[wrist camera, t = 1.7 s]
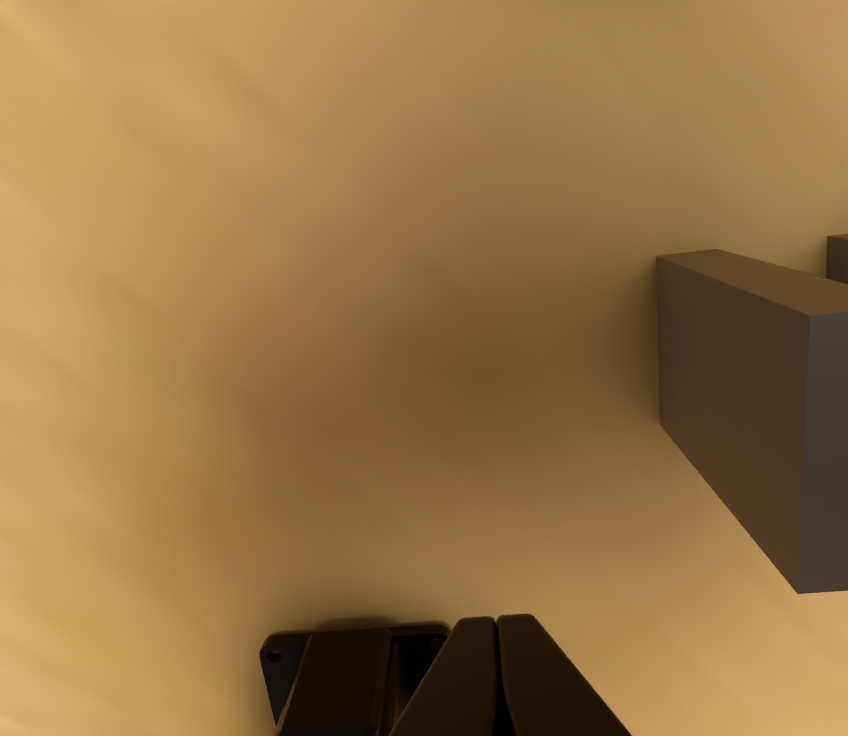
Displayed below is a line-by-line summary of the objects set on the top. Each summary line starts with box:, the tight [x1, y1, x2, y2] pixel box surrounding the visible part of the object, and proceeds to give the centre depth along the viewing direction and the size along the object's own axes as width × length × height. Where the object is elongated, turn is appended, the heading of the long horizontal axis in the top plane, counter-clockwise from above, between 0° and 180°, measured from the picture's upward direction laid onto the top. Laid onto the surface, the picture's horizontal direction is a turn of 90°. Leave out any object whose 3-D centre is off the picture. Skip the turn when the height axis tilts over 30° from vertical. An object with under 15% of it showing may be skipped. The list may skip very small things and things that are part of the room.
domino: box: [657, 249, 848, 594], centre depth 14 cm, size 5×2×8 cm, turn 7°
